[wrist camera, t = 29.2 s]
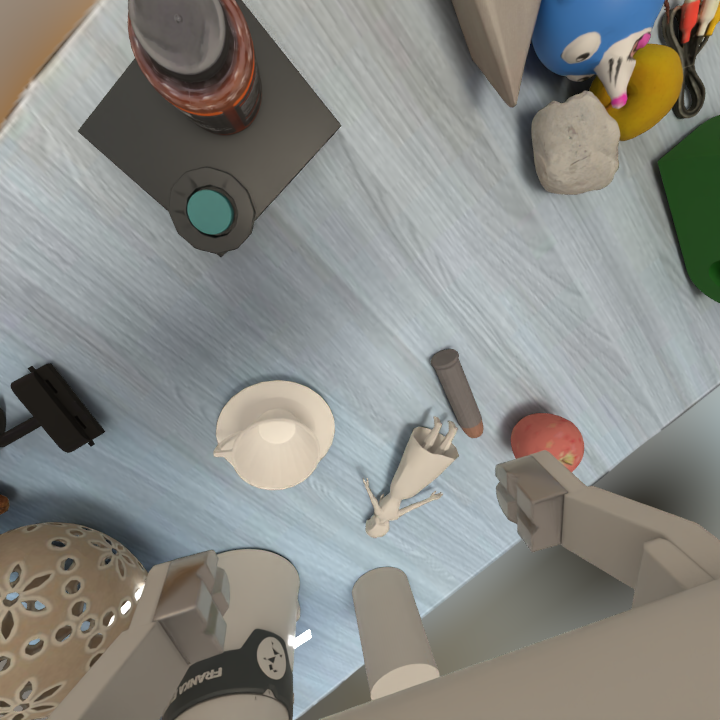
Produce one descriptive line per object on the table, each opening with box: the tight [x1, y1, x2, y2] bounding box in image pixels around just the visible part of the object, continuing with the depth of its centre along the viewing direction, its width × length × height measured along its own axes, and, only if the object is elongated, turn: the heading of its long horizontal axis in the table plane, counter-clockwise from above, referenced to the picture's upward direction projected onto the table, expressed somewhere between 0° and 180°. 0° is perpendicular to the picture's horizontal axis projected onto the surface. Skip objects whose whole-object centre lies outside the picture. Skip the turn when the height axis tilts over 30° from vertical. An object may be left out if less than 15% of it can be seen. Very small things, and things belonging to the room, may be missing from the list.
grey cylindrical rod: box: [431, 349, 483, 438], centre depth 41 cm, size 11×3×3 cm, turn 26°
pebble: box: [531, 91, 620, 195], centre depth 31 cm, size 9×8×5 cm
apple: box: [511, 413, 584, 472], centre depth 43 cm, size 7×7×8 cm
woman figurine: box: [363, 416, 459, 538], centre depth 44 cm, size 12×4×18 cm
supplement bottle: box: [128, 0, 262, 135], centre depth 21 cm, size 6×6×11 cm
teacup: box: [214, 380, 335, 490], centre depth 38 cm, size 12×12×5 cm
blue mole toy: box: [531, 0, 665, 109], centre depth 27 cm, size 12×12×8 cm
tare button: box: [187, 190, 234, 235], centre depth 28 cm, size 3×3×2 cm
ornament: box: [0, 522, 148, 720], centre depth 35 cm, size 15×15×20 cm
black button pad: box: [78, 0, 341, 257], centre depth 28 cm, size 14×12×4 cm
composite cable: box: [662, 0, 720, 118], centre depth 32 cm, size 10×5×2 cm, turn 13°
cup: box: [352, 567, 440, 701], centre depth 48 cm, size 8×8×12 cm
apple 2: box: [589, 44, 683, 141], centre depth 30 cm, size 6×6×8 cm
